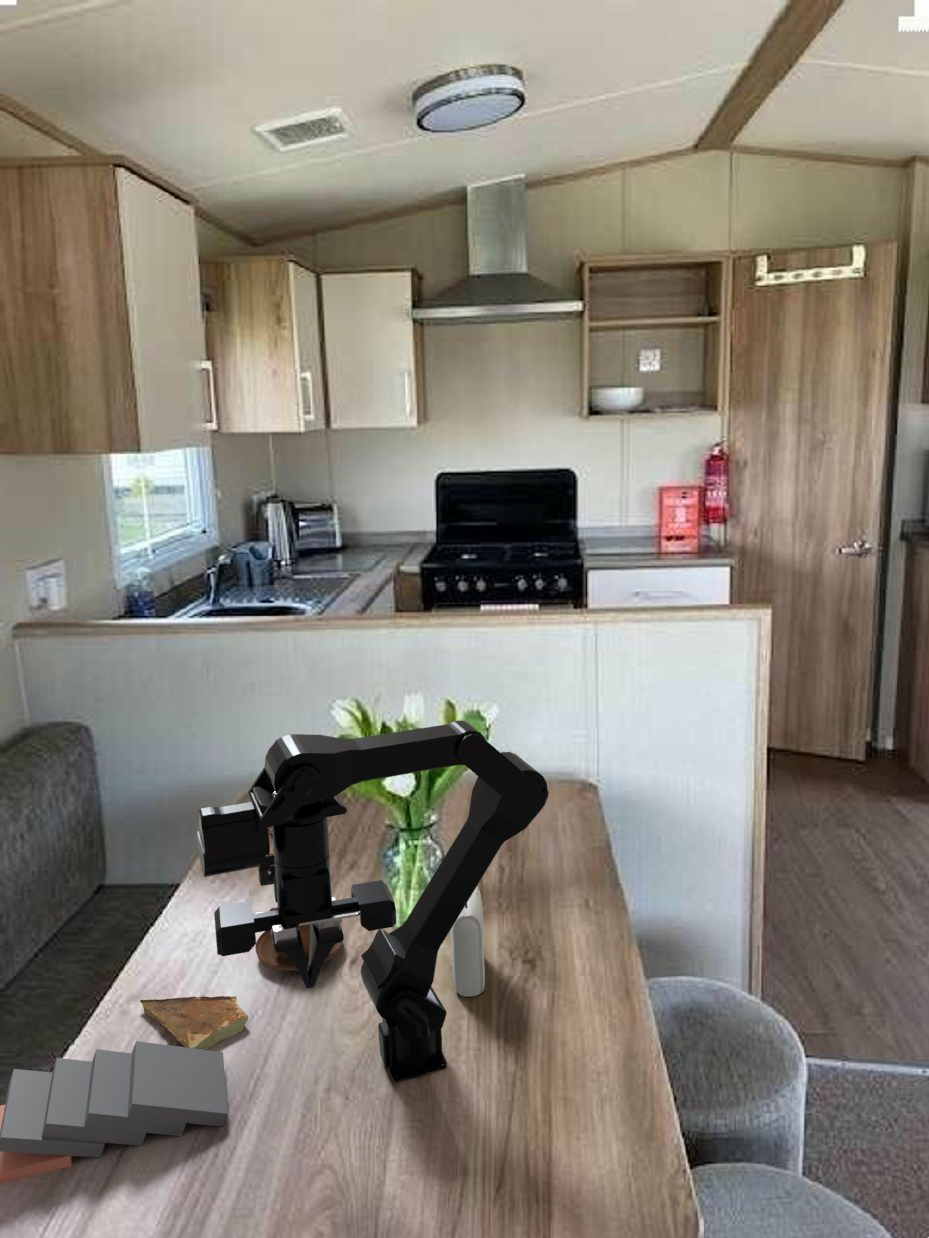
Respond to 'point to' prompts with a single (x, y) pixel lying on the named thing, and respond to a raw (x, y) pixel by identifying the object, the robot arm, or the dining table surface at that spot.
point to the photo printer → (469, 948)
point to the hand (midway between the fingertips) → (309, 985)
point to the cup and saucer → (281, 959)
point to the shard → (198, 1018)
